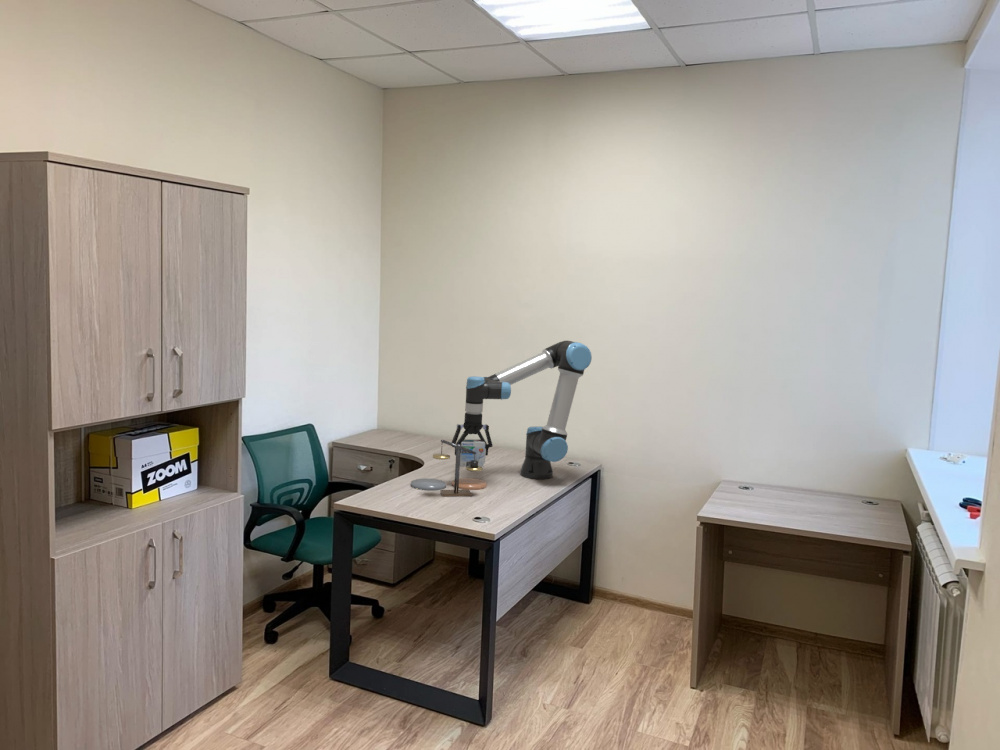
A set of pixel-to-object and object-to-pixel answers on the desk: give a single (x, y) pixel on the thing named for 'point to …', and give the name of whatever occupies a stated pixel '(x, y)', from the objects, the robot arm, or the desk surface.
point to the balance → (472, 467)
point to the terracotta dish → (471, 484)
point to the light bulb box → (467, 457)
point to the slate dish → (428, 484)
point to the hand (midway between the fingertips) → (470, 462)
